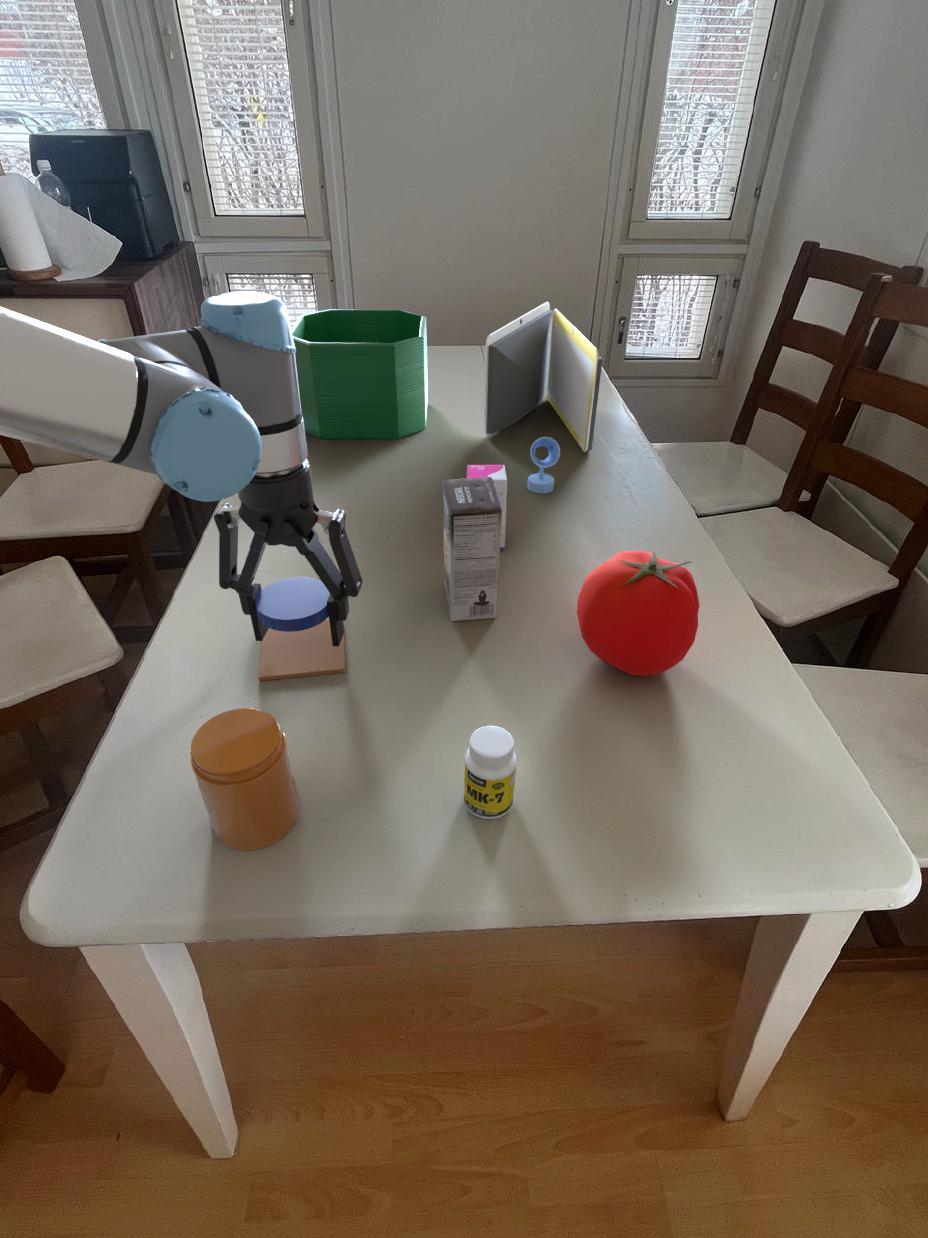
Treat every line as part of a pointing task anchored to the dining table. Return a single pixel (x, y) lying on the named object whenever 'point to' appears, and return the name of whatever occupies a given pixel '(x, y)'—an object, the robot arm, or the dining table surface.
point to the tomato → (639, 612)
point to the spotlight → (543, 466)
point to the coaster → (300, 653)
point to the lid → (292, 604)
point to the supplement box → (500, 485)
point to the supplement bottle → (490, 772)
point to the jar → (245, 778)
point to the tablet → (542, 373)
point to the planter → (362, 373)
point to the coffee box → (471, 547)
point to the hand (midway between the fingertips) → (300, 636)
